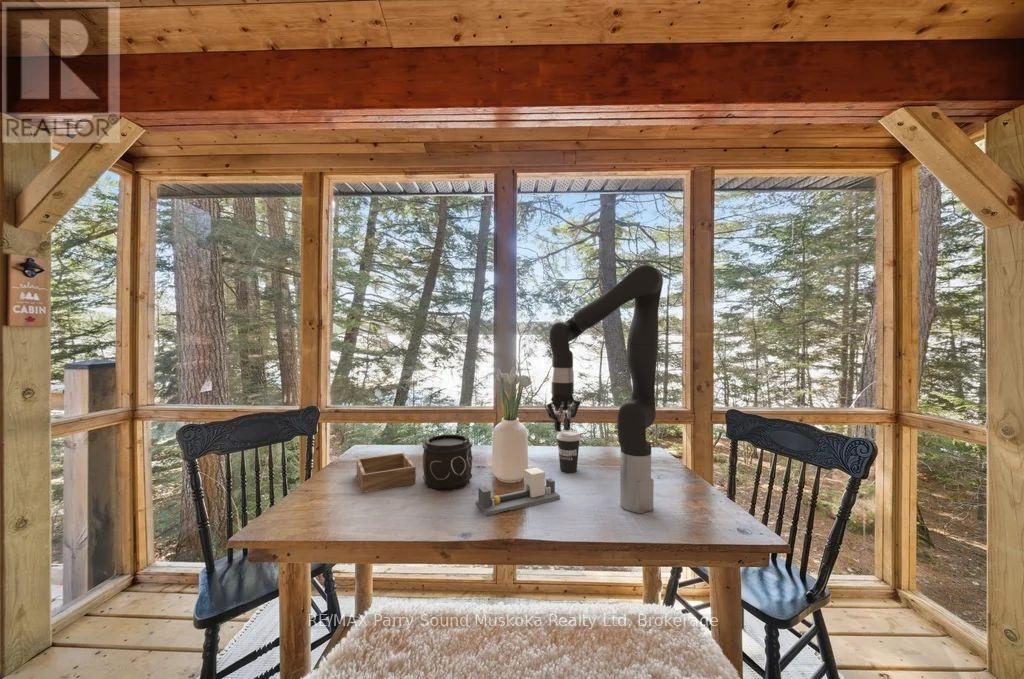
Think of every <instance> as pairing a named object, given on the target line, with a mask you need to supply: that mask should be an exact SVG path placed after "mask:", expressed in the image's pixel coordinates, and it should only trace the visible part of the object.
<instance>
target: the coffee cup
mask: <svg viewBox="0 0 1024 679" xmlns="http://www.w3.org/2000/svg"><path fill="white" fill-rule="evenodd" d="M556 439H557V445H558V448H557V449H558V459H559V471H560V472H561V473H565V474H575V473H576V472H577V471H578V459H579V450H580V448H579V447H580V440H581V439H582V438H581V435H580V433H579V432H578V431H577V430H571V429H569V431H566V430H564V429H563V430H561V432H558V433H557V435H556Z"/></svg>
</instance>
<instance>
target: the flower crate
mask: <svg viewBox="0 0 1024 679" xmlns="http://www.w3.org/2000/svg"><path fill="white" fill-rule="evenodd" d="M416 473H417V472H416V466H415V464H414V463H413V461H412V460H411V459H410V458H409V457H408V455H407V454H406V453H405V452H397V453H391V454H390V453H389V454H385V455H383V454H382V455H377V456H369V457H363V458H357V459H356V477H357V479H358V483H359V486H360V485H361V486H360V488H362V489H361V492H362V491H363V492H364V493H366V492H365V491H369V492H371V491H370V490H375V491H377V490H376V489H381V490H384V489H383V488H386V489H390V487H392V488H396V486H398V487H402V485H403V486H409V485H414V484H416V482H417V481H416V476H417V474H416ZM363 492H362V493H363Z"/></svg>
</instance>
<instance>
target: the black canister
mask: <svg viewBox="0 0 1024 679" xmlns="http://www.w3.org/2000/svg"><path fill="white" fill-rule="evenodd" d="M472 447H473V443H471V441H470V439H469V438H468V437H467V436H466V435H463V434H456V433H455V434H453V433H452V434H447V433H446V434H438V435H434V436H431V437H429V438H427V439H425V441H424V443H423V444H422V448H423V454H422V467H423V468H422V469H423V475H422V479H423V481H424V483H425V485H426V487H427V489H431V490H433V491H437V492H446V491H456V490H459V489H463V488H465V487H466V486H467V485H468V484H469V483H470V480H471V479H472V478H473V474H472V468H473V466H472V465H473V455H472Z"/></svg>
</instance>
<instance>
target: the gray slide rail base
mask: <svg viewBox="0 0 1024 679" xmlns="http://www.w3.org/2000/svg"><path fill="white" fill-rule="evenodd" d="M477 490H478V492H477V493H478V494H477V496H478V499H477V500H475V505H476V506H477V507H479V509H480V510H481V511H482V512H483V513H484V512H485V513H486V514H487V515H489V516H492V515H491V514H493V515H495V514H494V513H497V514H499V513H498V512H502V513H504V512H503V511H506V512H508V511H507V510H510V511H515V510H518V509H521V508H527V507H531V506H532V507H533V506H536V505H539V504H543V503H549V502H552V501H556V500H560V499H561V495H560V494H558V493H557V492H556V481H555V480H553V479H552V478H545V495H541V496H537V497H533V498H532V497H530V490H529V491H524V490H519V491H514V492H509V493H505V494H500V495H493V496H492V495H491V494H492V493H491V492H492V491H491V490H490V489H489V488H488V487H487V486H486V485H485V486H480V487H478V488H477ZM485 513H484V514H485ZM486 514H485V515H486ZM487 515H486V516H487Z"/></svg>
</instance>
